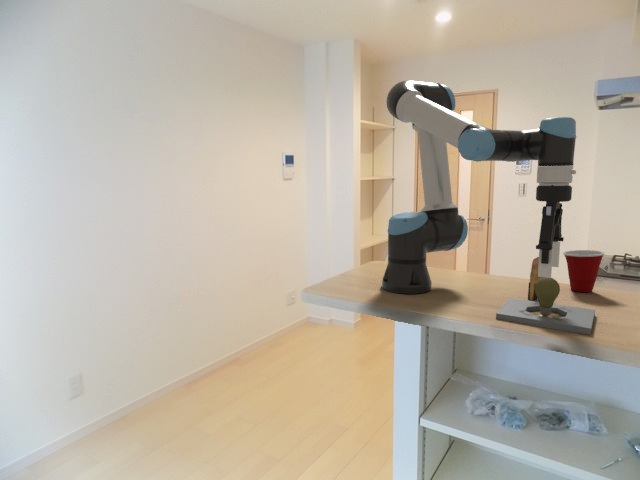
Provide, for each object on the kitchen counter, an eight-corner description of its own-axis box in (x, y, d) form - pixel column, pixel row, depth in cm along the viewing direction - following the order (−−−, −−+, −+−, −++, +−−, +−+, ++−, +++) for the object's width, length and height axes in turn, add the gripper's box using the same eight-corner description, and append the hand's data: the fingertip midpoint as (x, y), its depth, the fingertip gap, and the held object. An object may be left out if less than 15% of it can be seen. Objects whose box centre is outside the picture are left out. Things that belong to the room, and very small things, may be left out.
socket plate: (495, 319, 108) (496, 313, 108) (509, 303, 121) (510, 297, 121) (590, 334, 97) (590, 328, 96) (594, 315, 109) (595, 309, 109)
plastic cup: (565, 283, 141) (567, 247, 139) (604, 289, 134) (607, 250, 132) (556, 290, 133) (559, 252, 131) (597, 296, 126) (601, 255, 124)
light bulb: (551, 312, 111) (553, 274, 110) (562, 319, 106) (565, 279, 104) (528, 312, 111) (531, 274, 110) (538, 319, 106) (541, 280, 104)
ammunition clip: (534, 301, 122) (536, 259, 121) (527, 300, 124) (529, 258, 122) (544, 293, 130) (547, 253, 129) (538, 292, 132) (540, 253, 130)
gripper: (566, 186, 92) (559, 284, 95) (577, 183, 112) (571, 264, 115) (527, 186, 96) (522, 279, 99) (544, 183, 116) (539, 261, 119)
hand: (548, 271), depth 107 cm, fingers open, 13 cm apart
